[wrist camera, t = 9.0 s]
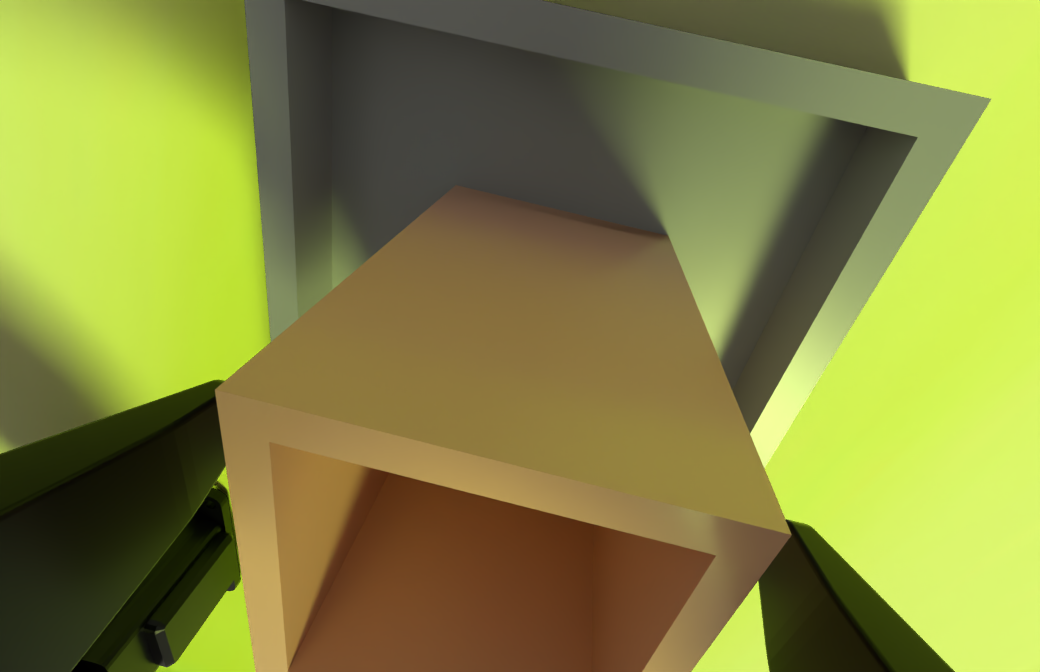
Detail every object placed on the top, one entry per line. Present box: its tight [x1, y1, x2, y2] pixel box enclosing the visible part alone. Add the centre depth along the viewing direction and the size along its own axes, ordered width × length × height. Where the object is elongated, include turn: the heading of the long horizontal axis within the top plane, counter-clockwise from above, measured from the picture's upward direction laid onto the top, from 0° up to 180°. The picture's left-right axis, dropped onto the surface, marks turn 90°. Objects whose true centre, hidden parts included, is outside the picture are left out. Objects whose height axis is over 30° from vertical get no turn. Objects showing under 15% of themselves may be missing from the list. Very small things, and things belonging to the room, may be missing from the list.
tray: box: [244, 0, 991, 468], centre depth 13 cm, size 14×14×2 cm
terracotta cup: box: [215, 185, 792, 672], centre depth 10 cm, size 6×6×9 cm
